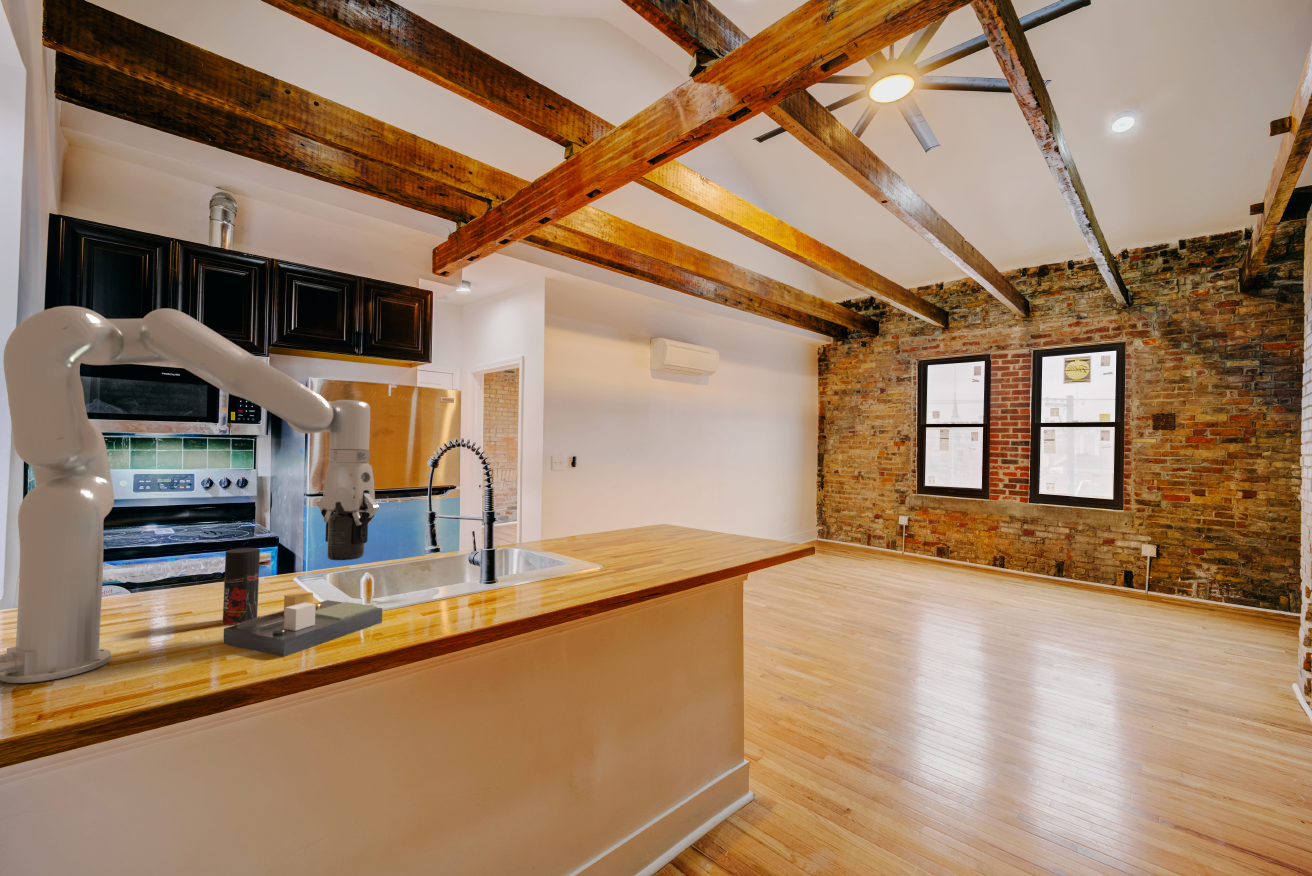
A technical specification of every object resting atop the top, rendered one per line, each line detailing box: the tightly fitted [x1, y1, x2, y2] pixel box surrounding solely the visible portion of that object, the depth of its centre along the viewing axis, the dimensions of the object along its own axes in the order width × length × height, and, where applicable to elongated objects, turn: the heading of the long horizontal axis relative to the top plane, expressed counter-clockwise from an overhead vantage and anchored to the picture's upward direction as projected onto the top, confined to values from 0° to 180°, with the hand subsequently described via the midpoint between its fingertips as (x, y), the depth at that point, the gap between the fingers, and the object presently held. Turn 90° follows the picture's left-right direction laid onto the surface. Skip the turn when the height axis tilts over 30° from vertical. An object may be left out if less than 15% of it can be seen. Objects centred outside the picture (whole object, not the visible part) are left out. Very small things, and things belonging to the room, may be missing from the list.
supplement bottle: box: [326, 502, 365, 561], centre depth 118 cm, size 7×7×12 cm
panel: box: [222, 599, 383, 658], centre depth 113 cm, size 22×16×4 cm
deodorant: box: [222, 547, 261, 626], centre depth 120 cm, size 6×6×15 cm
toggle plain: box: [284, 602, 316, 631], centre depth 107 cm, size 4×3×4 cm
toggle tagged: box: [283, 591, 314, 616], centre depth 115 cm, size 4×3×4 cm
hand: (346, 541), depth 118 cm, fingers closed on supplement bottle, 6 cm apart
